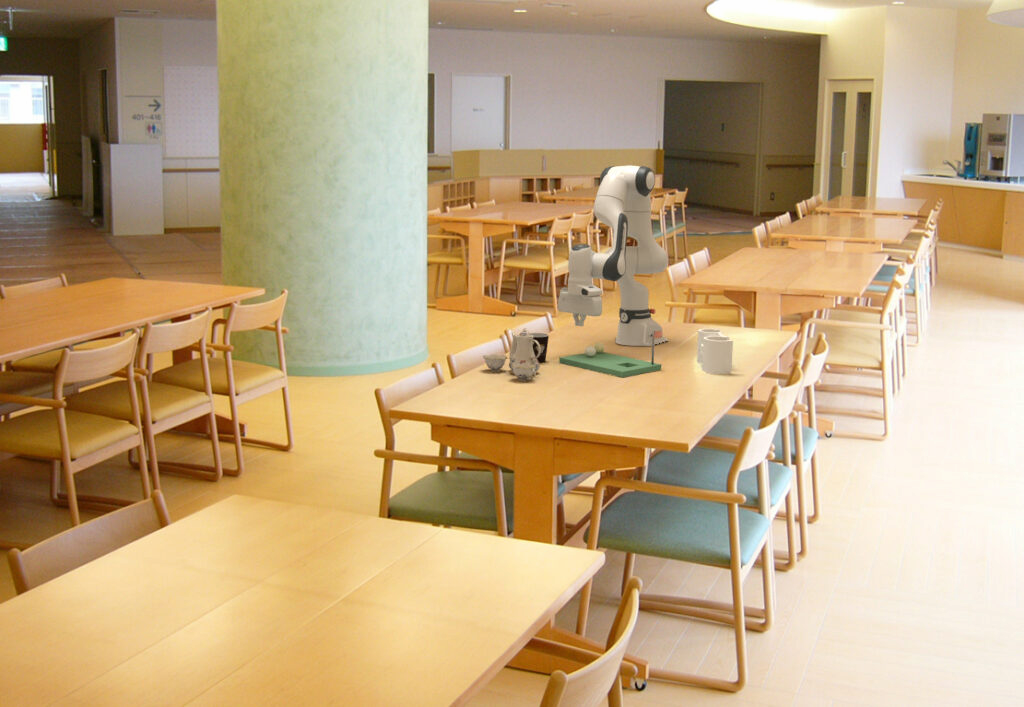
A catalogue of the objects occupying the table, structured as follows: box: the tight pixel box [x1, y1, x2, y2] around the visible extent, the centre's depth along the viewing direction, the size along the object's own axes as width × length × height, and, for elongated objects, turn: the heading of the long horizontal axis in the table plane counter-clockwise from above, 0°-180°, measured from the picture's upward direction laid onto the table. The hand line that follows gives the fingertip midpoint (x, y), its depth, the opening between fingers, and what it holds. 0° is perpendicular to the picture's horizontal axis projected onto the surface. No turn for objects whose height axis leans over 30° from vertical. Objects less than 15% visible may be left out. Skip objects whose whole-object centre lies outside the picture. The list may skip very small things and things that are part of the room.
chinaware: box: [482, 327, 541, 382], centre depth 387 cm, size 28×17×17 cm, turn 40°
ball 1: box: [584, 345, 596, 357], centre depth 409 cm, size 4×4×4 cm
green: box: [558, 351, 662, 378], centre depth 402 cm, size 20×32×2 cm, turn 41°
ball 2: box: [593, 342, 605, 353], centre depth 416 cm, size 4×4×4 cm
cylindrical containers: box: [696, 328, 734, 375], centre depth 401 cm, size 25×10×12 cm, turn 0°
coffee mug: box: [529, 332, 550, 364], centre depth 409 cm, size 12×9×10 cm
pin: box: [650, 330, 663, 365], centre depth 396 cm, size 5×1×12 cm, turn 130°
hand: (579, 326), depth 411 cm, fingers closed
